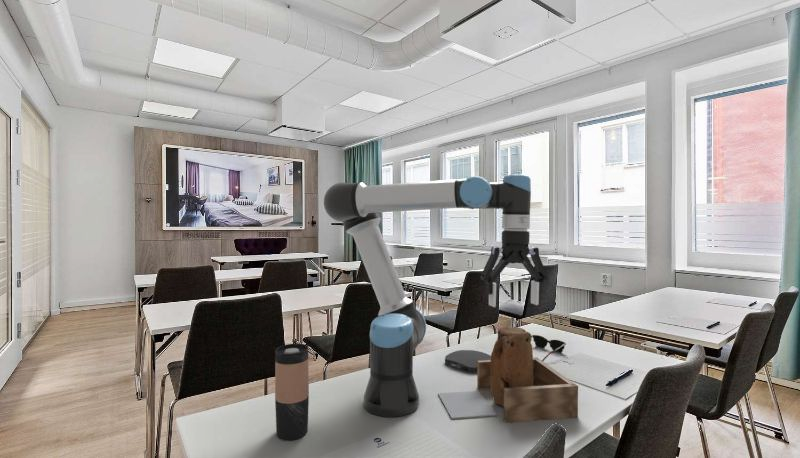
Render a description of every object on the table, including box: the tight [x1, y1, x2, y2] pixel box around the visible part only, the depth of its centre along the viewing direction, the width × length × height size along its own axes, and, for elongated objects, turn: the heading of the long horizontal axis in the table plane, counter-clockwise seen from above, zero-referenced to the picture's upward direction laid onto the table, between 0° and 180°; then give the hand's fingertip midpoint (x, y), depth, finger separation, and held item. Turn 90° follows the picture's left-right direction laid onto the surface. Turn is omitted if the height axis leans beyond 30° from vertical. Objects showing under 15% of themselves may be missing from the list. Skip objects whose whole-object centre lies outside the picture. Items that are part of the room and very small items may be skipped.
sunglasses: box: [531, 334, 567, 362], centre depth 146 cm, size 14×16×5 cm
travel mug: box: [274, 343, 310, 442], centre depth 91 cm, size 8×8×20 cm
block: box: [490, 326, 534, 407], centre depth 107 cm, size 11×8×20 cm
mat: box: [437, 390, 498, 420], centre depth 105 cm, size 12×14×1 cm
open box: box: [476, 357, 579, 424], centre depth 108 cm, size 19×21×8 cm
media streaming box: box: [444, 349, 491, 374], centre depth 136 cm, size 15×15×3 cm
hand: (513, 305), depth 110 cm, fingers open, 13 cm apart
